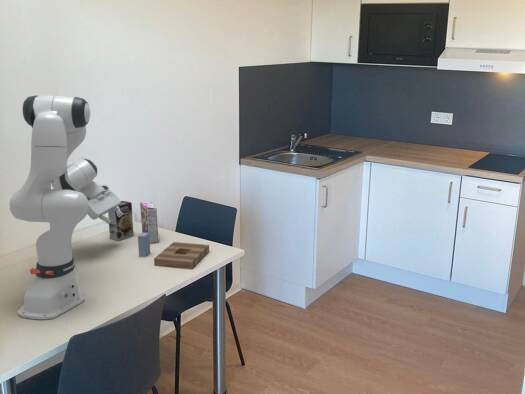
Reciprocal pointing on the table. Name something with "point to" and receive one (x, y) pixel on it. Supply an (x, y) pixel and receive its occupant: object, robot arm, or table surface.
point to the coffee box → (121, 222)
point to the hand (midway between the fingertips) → (115, 219)
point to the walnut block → (181, 255)
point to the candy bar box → (149, 220)
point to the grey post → (144, 244)
